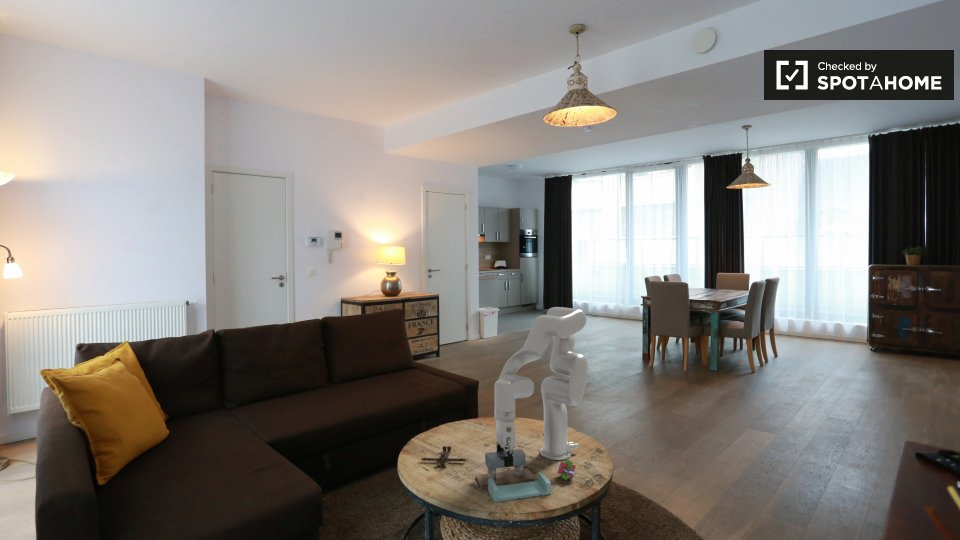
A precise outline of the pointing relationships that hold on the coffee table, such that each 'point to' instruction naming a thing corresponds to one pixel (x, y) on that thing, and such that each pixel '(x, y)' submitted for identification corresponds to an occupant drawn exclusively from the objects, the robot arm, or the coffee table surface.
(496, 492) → the slot holder
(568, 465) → the geometric puzzle
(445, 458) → the bear figurine
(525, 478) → the peg stand
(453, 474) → the coffee table surface
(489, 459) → the steel bar
